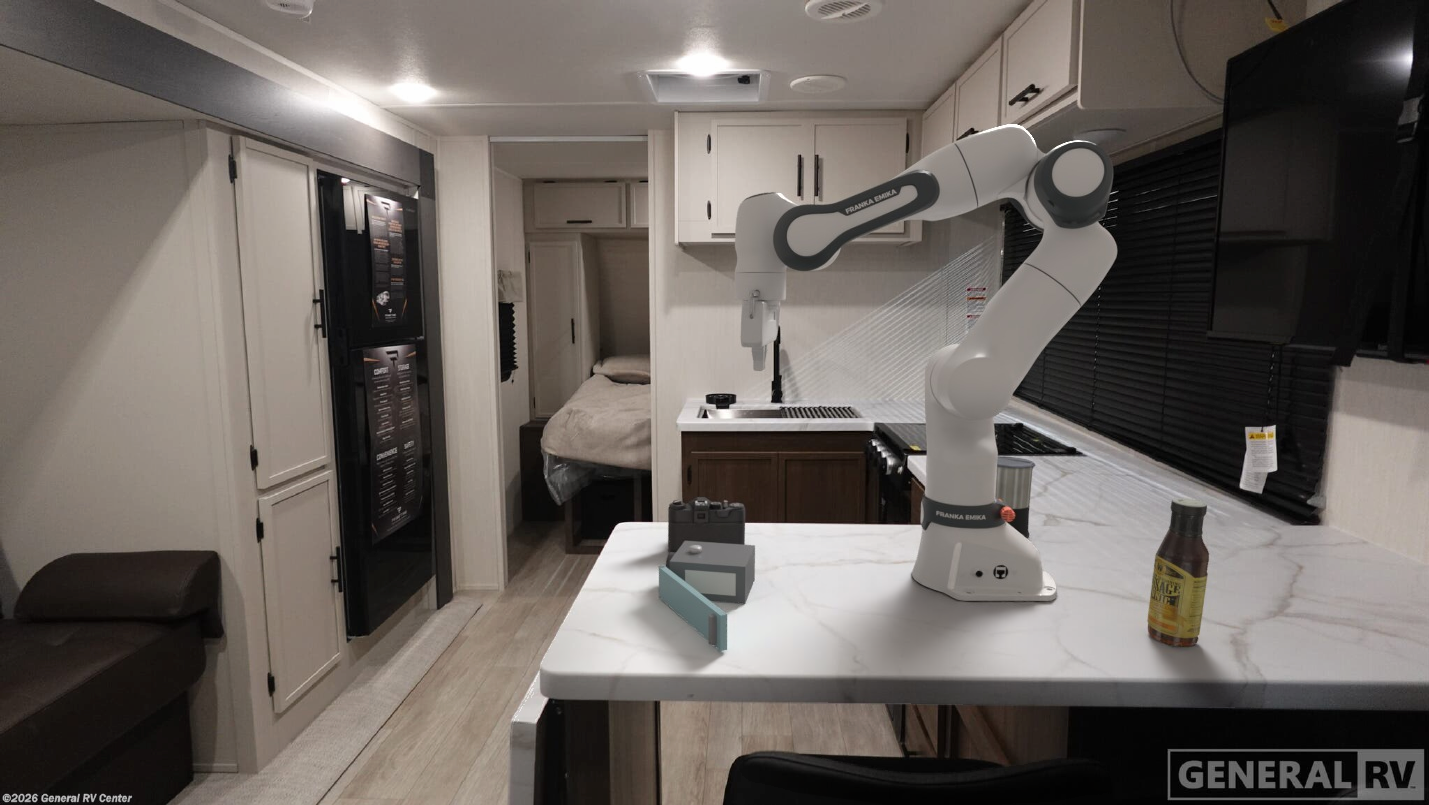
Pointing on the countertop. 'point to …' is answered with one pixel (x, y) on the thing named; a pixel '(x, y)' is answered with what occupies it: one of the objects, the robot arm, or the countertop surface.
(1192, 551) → the sauce bottle
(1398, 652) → the countertop surface
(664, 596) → the side door
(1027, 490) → the milk frother
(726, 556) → the camera housing
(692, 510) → the camera
